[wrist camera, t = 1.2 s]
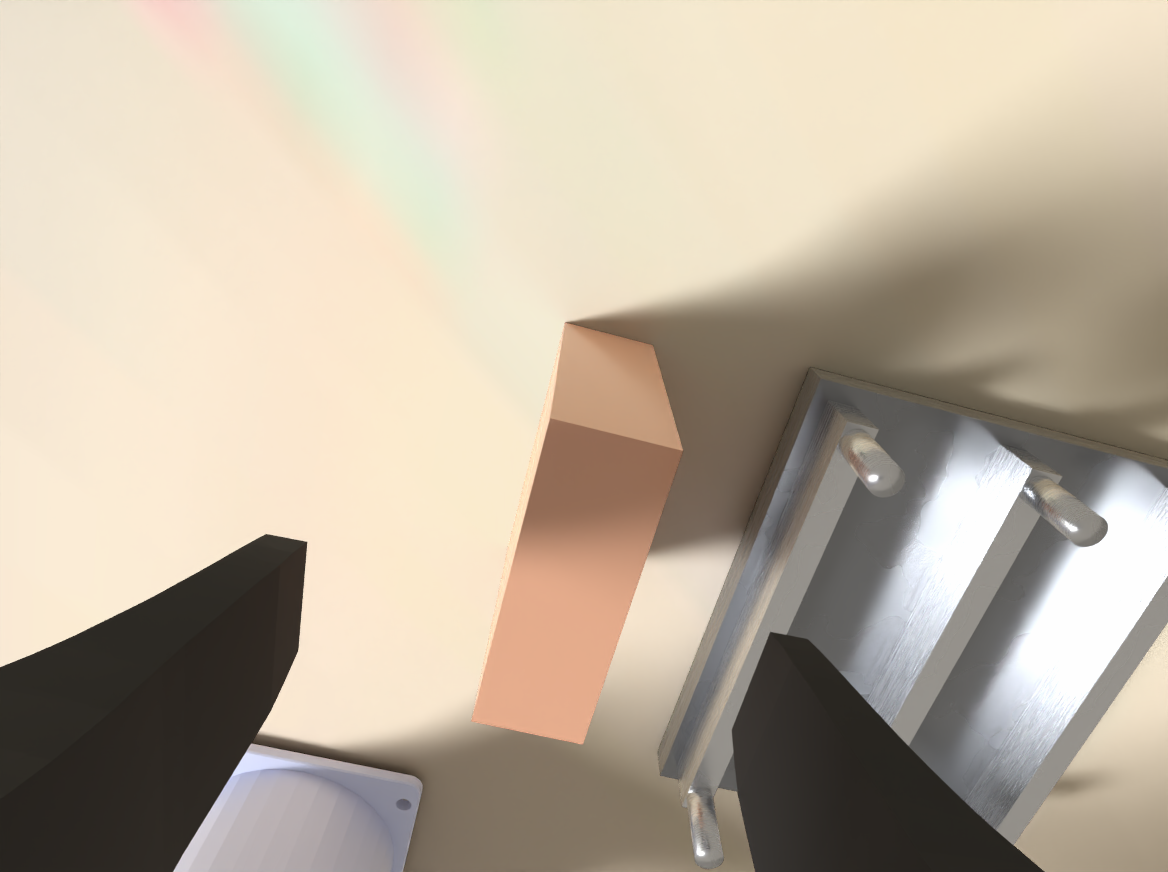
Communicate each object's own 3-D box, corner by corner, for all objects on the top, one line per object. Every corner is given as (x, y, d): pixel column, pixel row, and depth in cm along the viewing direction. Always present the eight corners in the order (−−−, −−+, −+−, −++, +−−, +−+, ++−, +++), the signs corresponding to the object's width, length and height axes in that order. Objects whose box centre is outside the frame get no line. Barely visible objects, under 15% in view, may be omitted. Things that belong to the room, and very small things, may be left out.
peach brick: (585, 563, 22) (583, 744, 15) (508, 546, 21) (471, 721, 15) (653, 344, 19) (683, 450, 13) (564, 322, 19) (550, 417, 12)
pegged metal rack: (963, 815, 25) (1035, 947, 21) (657, 751, 24) (670, 877, 20) (1187, 465, 20) (1341, 550, 16) (809, 367, 19) (870, 430, 15)
